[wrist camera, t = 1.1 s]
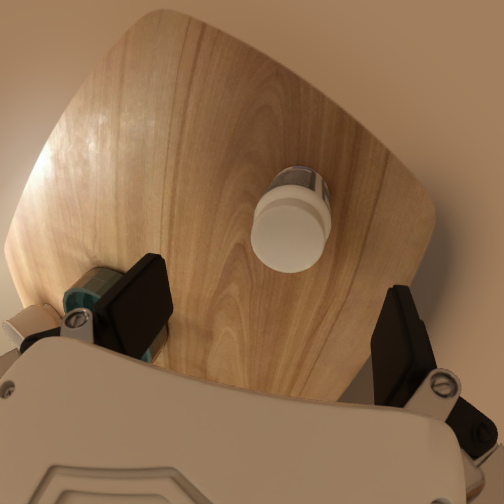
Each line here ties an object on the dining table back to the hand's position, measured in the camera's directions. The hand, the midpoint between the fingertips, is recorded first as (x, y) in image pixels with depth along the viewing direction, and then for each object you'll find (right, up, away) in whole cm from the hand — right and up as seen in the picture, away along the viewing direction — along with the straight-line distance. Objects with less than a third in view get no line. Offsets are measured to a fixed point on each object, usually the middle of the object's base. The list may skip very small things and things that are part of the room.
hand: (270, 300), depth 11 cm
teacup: (-37, -11, +32) cm, 50 cm away
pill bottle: (+3, +7, +11) cm, 13 cm away
